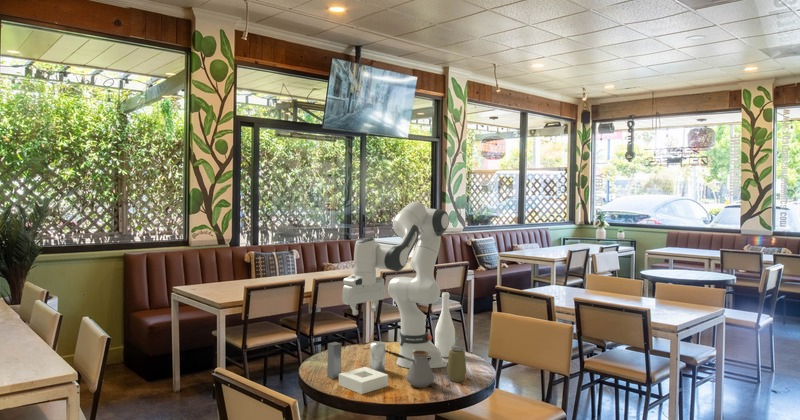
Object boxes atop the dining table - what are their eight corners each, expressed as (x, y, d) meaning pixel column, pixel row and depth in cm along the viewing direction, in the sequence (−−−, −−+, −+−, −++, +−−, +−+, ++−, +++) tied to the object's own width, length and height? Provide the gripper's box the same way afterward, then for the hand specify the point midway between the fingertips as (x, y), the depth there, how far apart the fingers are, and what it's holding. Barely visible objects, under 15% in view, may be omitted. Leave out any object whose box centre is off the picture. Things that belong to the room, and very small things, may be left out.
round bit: (383, 368, 248) (384, 341, 247) (386, 372, 241) (386, 345, 241) (369, 368, 247) (369, 341, 246) (370, 373, 240) (371, 345, 240)
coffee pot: (428, 378, 235) (428, 342, 234) (438, 387, 224) (439, 350, 223) (379, 383, 228) (379, 346, 228) (387, 392, 217) (387, 354, 217)
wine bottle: (456, 353, 272) (458, 291, 271) (451, 358, 263) (452, 295, 263) (438, 351, 276) (439, 290, 275) (432, 356, 267) (433, 293, 266)
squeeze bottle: (443, 378, 235) (444, 335, 235) (460, 375, 239) (461, 333, 238) (452, 384, 228) (453, 340, 228) (469, 381, 231) (470, 338, 231)
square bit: (334, 374, 238) (335, 341, 237) (340, 377, 235) (341, 343, 234) (327, 376, 235) (327, 343, 235) (333, 379, 232) (333, 345, 232)
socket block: (365, 377, 235) (365, 366, 235) (388, 385, 225) (388, 374, 225) (338, 385, 225) (338, 373, 225) (361, 394, 215) (361, 382, 215)
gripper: (378, 275, 233) (378, 308, 234) (339, 279, 219) (339, 315, 219) (389, 277, 229) (388, 310, 229) (350, 281, 214) (349, 318, 215)
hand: (364, 313), depth 224 cm, fingers open, 8 cm apart
